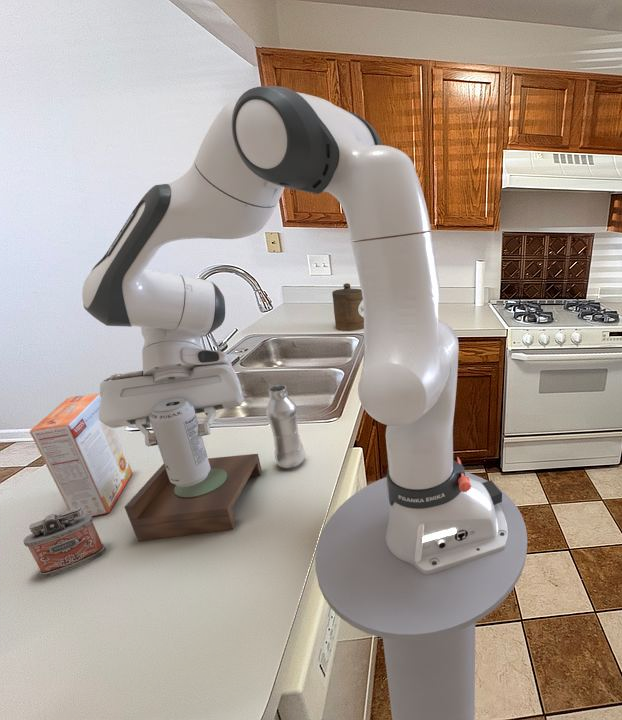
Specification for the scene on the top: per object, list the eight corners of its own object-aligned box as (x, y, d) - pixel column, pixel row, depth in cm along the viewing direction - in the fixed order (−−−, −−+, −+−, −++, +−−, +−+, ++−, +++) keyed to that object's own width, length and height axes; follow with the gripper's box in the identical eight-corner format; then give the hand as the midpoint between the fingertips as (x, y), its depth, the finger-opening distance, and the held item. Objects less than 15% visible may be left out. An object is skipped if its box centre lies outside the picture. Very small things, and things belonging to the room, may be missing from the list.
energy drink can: (178, 471, 73) (155, 398, 67) (215, 465, 74) (196, 393, 69) (165, 492, 67) (139, 414, 62) (206, 485, 69) (184, 409, 64)
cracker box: (100, 479, 89) (66, 396, 81) (134, 473, 91) (103, 391, 83) (70, 523, 77) (26, 429, 69) (109, 514, 79) (71, 423, 71)
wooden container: (369, 328, 200) (365, 284, 192) (339, 332, 193) (333, 287, 185) (362, 321, 212) (357, 280, 204) (333, 324, 205) (327, 282, 197)
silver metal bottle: (296, 452, 99) (282, 379, 92) (312, 462, 96) (299, 387, 88) (271, 465, 94) (254, 389, 87) (286, 475, 91) (270, 397, 83)
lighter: (40, 581, 65) (14, 534, 61) (42, 568, 67) (18, 522, 64) (106, 555, 70) (86, 510, 66) (106, 543, 72) (86, 499, 69)
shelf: (262, 471, 92) (255, 442, 89) (233, 529, 76) (223, 495, 73) (185, 479, 89) (176, 449, 86) (137, 541, 73) (124, 507, 70)
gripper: (90, 369, 65) (90, 450, 60) (235, 351, 73) (243, 421, 69) (108, 383, 70) (108, 459, 65) (241, 365, 79) (249, 431, 74)
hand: (179, 439), depth 67 cm, fingers closed on energy drink can, 6 cm apart
